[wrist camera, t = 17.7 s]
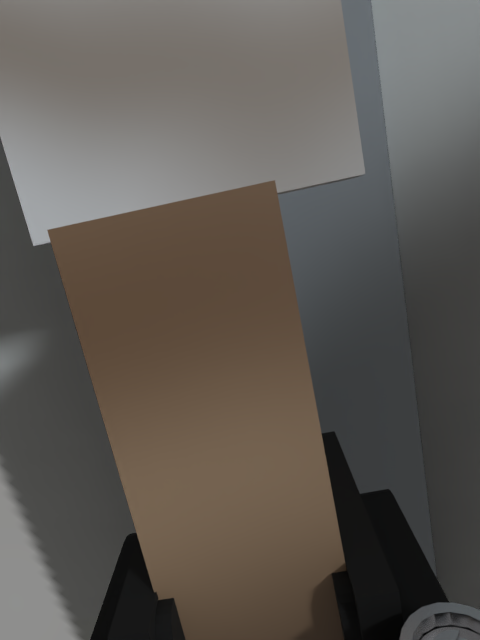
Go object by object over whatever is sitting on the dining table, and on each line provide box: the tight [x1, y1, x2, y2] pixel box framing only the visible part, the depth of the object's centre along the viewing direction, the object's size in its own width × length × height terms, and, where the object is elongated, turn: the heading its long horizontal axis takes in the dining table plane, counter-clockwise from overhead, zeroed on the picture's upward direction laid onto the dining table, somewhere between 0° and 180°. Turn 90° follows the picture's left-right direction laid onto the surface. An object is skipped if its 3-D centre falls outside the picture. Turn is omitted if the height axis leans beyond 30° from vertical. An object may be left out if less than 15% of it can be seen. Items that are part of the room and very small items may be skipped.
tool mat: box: [278, 0, 437, 578], centre depth 13 cm, size 25×9×1 cm, turn 12°
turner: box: [0, 0, 365, 640], centre depth 8 cm, size 21×6×4 cm, turn 12°
